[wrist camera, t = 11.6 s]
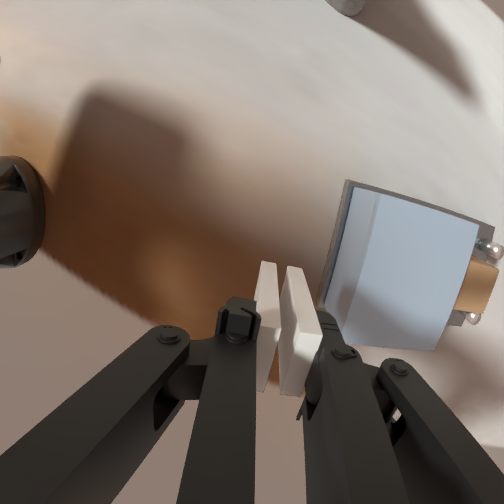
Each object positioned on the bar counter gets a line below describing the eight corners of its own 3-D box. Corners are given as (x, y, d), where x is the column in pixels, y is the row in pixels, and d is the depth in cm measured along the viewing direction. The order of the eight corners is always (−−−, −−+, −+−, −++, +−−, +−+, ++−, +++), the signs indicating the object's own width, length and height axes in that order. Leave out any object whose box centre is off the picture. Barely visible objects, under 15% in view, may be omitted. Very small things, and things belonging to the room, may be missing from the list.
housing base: (315, 301, 31) (322, 321, 27) (345, 179, 28) (358, 181, 23) (455, 321, 31) (473, 337, 27) (487, 224, 28) (510, 232, 23)
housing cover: (323, 305, 29) (337, 342, 23) (354, 186, 26) (381, 193, 19) (406, 317, 29) (433, 351, 23) (439, 211, 26) (479, 225, 19)
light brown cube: (460, 295, 29) (482, 313, 24) (430, 289, 29) (452, 309, 24) (474, 256, 27) (499, 269, 22) (444, 247, 27) (470, 261, 22)
